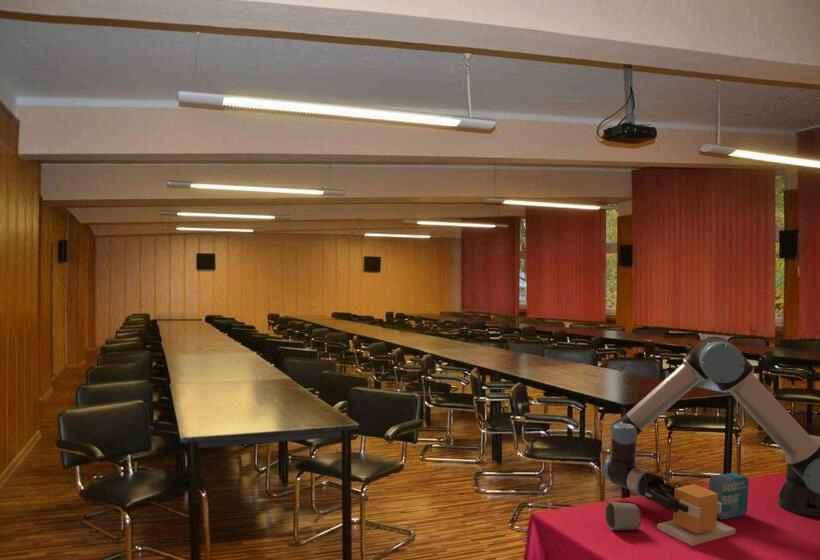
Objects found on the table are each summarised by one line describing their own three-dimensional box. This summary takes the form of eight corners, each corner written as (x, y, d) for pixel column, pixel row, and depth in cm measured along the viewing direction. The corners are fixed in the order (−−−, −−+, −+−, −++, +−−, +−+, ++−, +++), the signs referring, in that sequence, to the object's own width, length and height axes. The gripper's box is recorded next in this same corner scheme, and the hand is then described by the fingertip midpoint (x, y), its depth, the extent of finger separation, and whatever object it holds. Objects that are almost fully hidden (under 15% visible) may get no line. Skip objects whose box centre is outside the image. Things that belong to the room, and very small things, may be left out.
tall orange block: (692, 517, 199) (693, 484, 198) (716, 528, 192) (717, 493, 191) (673, 522, 195) (674, 488, 195) (696, 533, 188) (698, 498, 188)
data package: (719, 521, 204) (721, 481, 203) (706, 515, 208) (708, 476, 207) (747, 514, 209) (749, 476, 208) (734, 509, 213) (736, 471, 212)
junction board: (699, 518, 205) (700, 492, 205) (735, 533, 195) (736, 506, 194) (657, 528, 196) (658, 501, 196) (692, 545, 186) (693, 517, 185)
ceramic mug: (642, 533, 193) (643, 507, 193) (614, 534, 192) (615, 507, 192) (626, 519, 203) (627, 493, 203) (599, 519, 202) (600, 494, 202)
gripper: (669, 490, 214) (733, 517, 194) (620, 501, 204) (683, 530, 184) (670, 467, 214) (735, 491, 194) (621, 476, 204) (684, 503, 184)
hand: (710, 510), depth 189 cm, fingers closed on tall orange block, 8 cm apart
